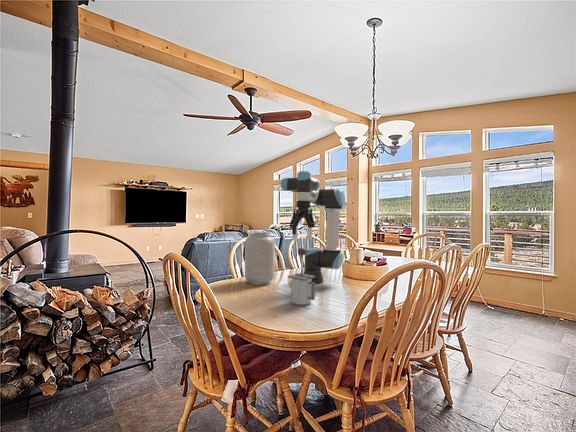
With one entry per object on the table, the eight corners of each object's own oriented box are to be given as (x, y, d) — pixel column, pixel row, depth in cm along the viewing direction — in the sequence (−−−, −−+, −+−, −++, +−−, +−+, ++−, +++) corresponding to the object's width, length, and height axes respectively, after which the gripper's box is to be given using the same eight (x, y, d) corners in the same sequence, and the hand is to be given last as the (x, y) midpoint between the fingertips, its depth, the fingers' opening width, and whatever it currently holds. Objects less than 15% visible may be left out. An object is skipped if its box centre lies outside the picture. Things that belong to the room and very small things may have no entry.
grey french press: (298, 298, 171) (299, 272, 170) (319, 304, 162) (319, 276, 162) (287, 303, 162) (287, 276, 162) (308, 308, 154) (308, 280, 154)
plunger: (300, 277, 168) (300, 247, 167) (310, 279, 164) (311, 248, 163) (292, 279, 162) (293, 248, 162) (303, 281, 158) (303, 250, 158)
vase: (279, 281, 209) (280, 233, 208) (262, 288, 192) (263, 235, 191) (256, 277, 219) (257, 231, 218) (238, 283, 202) (239, 233, 201)
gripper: (310, 201, 174) (309, 237, 174) (283, 199, 154) (282, 240, 154) (321, 201, 169) (320, 239, 170) (295, 199, 149) (294, 242, 150)
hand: (302, 239), depth 162 cm, fingers open, 13 cm apart
